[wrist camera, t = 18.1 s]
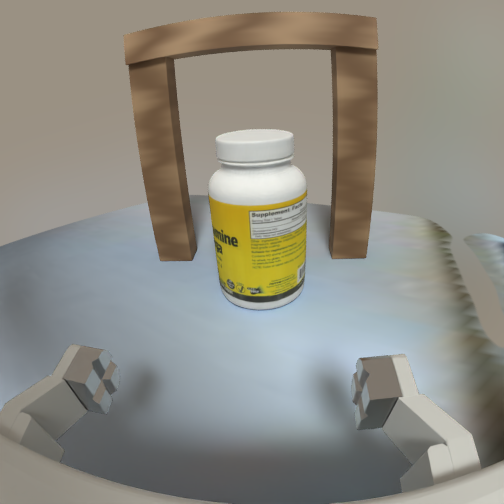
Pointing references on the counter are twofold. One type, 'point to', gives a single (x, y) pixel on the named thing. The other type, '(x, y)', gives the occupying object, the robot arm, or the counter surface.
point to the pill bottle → (259, 218)
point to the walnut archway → (244, 39)
